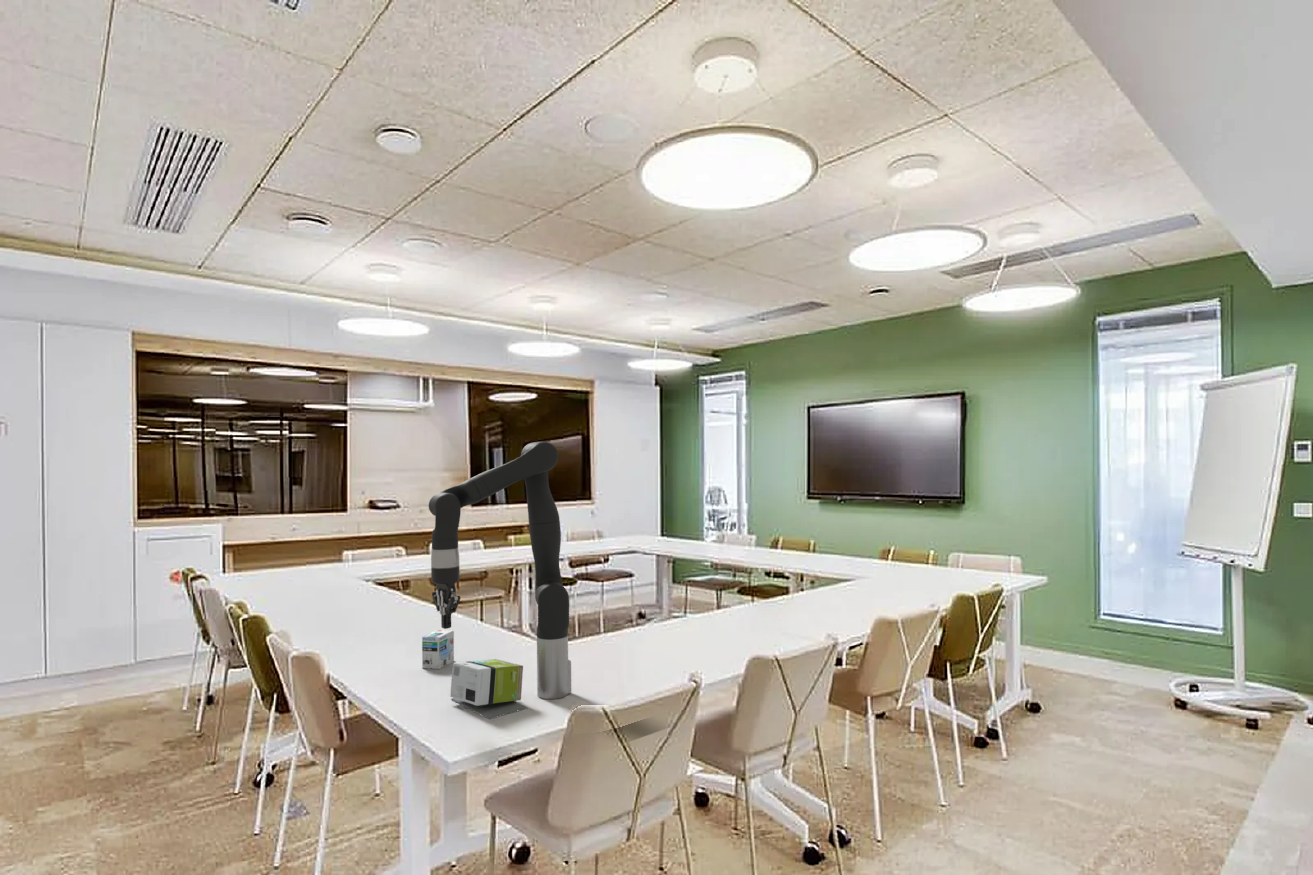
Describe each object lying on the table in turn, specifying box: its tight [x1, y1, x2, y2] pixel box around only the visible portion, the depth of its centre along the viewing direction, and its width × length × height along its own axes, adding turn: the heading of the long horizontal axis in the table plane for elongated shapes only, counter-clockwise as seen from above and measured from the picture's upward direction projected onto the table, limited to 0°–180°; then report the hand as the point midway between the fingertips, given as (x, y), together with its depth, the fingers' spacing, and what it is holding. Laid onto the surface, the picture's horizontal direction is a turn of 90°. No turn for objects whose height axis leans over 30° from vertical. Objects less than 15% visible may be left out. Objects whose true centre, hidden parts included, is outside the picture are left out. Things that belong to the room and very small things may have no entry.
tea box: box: [450, 658, 524, 706], centre depth 209 cm, size 15×10×15 cm
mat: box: [451, 697, 528, 720], centre depth 208 cm, size 12×22×1 cm, turn 42°
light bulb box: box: [421, 629, 455, 670], centre depth 250 cm, size 11×7×11 cm, turn 168°
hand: (446, 627), depth 200 cm, fingers closed
